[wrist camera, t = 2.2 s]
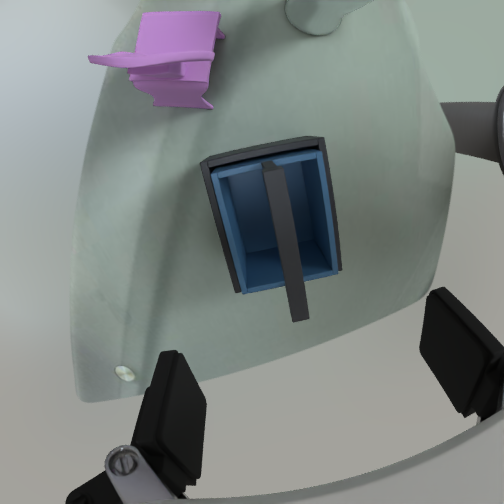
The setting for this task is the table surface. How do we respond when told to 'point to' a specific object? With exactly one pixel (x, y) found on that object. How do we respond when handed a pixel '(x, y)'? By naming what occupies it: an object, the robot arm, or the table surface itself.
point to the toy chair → (171, 57)
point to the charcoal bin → (255, 151)
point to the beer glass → (320, 14)
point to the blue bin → (278, 222)
